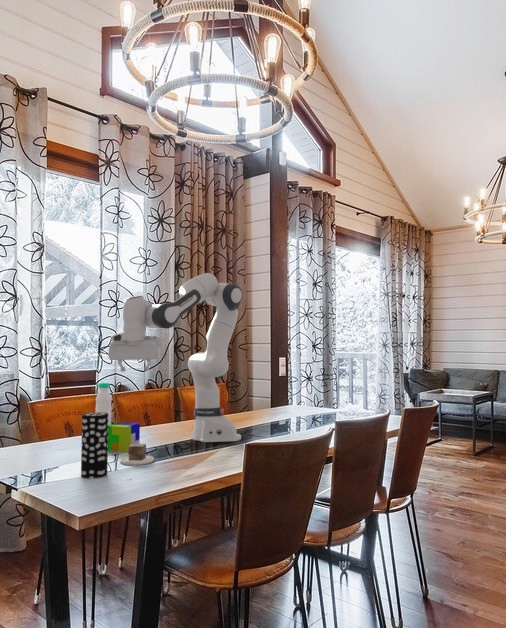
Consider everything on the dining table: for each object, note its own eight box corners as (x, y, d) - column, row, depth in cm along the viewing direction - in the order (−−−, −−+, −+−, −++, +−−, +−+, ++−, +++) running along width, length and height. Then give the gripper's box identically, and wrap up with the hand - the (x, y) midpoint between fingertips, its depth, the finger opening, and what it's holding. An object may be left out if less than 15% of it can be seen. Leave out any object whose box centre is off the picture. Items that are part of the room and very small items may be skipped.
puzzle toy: (139, 447, 216) (139, 423, 217) (126, 452, 207) (126, 427, 207) (118, 445, 220) (119, 422, 220) (104, 450, 210) (105, 425, 211)
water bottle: (113, 436, 241) (114, 382, 242) (107, 439, 234) (108, 383, 235) (98, 436, 242) (99, 382, 243) (92, 438, 235) (93, 383, 236)
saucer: (157, 458, 197) (157, 455, 197) (149, 465, 185) (149, 462, 185) (125, 457, 197) (125, 455, 197) (116, 465, 185) (116, 462, 185)
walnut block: (145, 457, 193) (145, 443, 194) (142, 460, 188) (142, 446, 189) (132, 457, 194) (132, 443, 194) (128, 460, 189) (128, 446, 189)
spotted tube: (84, 472, 175) (85, 412, 176) (109, 471, 176) (110, 412, 177) (78, 478, 167) (79, 416, 168) (104, 478, 167) (105, 415, 169)
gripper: (161, 335, 210) (162, 370, 209) (111, 336, 211) (112, 371, 210) (158, 336, 204) (159, 371, 203) (107, 336, 204) (107, 372, 204)
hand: (134, 371), depth 207 cm, fingers open, 8 cm apart
